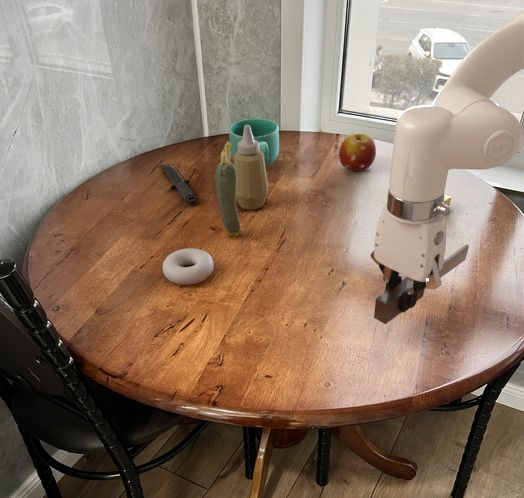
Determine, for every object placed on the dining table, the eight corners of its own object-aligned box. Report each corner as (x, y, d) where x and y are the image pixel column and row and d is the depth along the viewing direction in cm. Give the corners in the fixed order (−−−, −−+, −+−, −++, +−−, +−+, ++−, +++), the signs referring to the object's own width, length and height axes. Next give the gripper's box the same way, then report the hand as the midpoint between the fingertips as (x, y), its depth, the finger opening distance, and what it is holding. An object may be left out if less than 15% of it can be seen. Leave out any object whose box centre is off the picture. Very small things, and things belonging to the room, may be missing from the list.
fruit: (364, 178, 133) (367, 146, 127) (331, 171, 136) (332, 140, 131) (380, 163, 138) (383, 132, 133) (347, 157, 142) (350, 126, 137)
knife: (200, 200, 126) (192, 192, 124) (185, 213, 127) (177, 205, 125) (178, 159, 143) (172, 151, 141) (165, 170, 144) (158, 163, 142)
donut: (217, 285, 103) (211, 255, 110) (215, 270, 101) (210, 241, 108) (165, 292, 102) (162, 262, 109) (162, 277, 100) (160, 247, 107)
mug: (229, 156, 145) (226, 120, 139) (275, 151, 146) (274, 115, 140) (236, 183, 133) (233, 146, 127) (286, 178, 134) (285, 140, 128)
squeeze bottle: (274, 199, 127) (272, 121, 115) (260, 215, 122) (256, 135, 109) (243, 193, 130) (238, 116, 117) (228, 209, 124) (221, 130, 112)
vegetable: (225, 242, 114) (216, 149, 100) (218, 232, 117) (208, 141, 103) (244, 237, 115) (238, 144, 101) (237, 227, 118) (229, 136, 104)
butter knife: (470, 261, 97) (474, 242, 94) (385, 324, 86) (387, 304, 83) (458, 256, 98) (462, 237, 96) (373, 317, 87) (375, 298, 85)
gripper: (480, 210, 73) (455, 315, 86) (385, 175, 82) (375, 274, 95) (448, 232, 70) (427, 338, 82) (353, 193, 79) (346, 293, 91)
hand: (399, 303), depth 89 cm, fingers closed on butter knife, 2 cm apart
